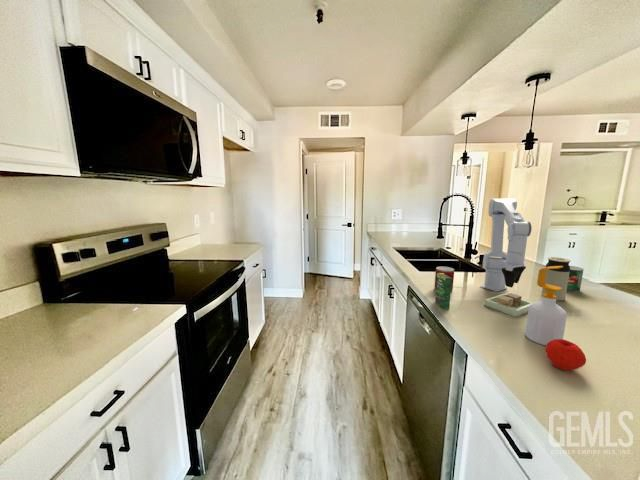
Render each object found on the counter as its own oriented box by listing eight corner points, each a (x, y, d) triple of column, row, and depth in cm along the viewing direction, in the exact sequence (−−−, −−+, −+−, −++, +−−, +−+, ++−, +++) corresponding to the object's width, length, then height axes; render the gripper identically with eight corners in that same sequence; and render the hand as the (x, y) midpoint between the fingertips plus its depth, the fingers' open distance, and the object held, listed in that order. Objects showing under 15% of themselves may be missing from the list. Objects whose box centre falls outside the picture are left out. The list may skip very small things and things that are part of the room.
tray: (502, 299, 116) (503, 293, 115) (534, 309, 105) (535, 303, 105) (484, 305, 109) (484, 299, 109) (516, 317, 99) (517, 310, 98)
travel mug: (545, 299, 115) (551, 260, 112) (538, 293, 123) (544, 256, 120) (568, 302, 112) (575, 261, 109) (559, 295, 120) (566, 257, 117)
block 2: (509, 301, 111) (510, 293, 111) (520, 305, 108) (521, 296, 107) (504, 303, 110) (505, 294, 109) (515, 307, 106) (516, 298, 105)
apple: (592, 376, 67) (597, 350, 65) (563, 378, 66) (568, 351, 65) (561, 357, 74) (565, 333, 73) (535, 358, 74) (539, 334, 73)
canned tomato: (577, 288, 129) (581, 267, 127) (582, 293, 123) (586, 270, 121) (556, 285, 133) (559, 264, 131) (559, 290, 127) (563, 268, 125)
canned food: (455, 293, 123) (457, 270, 121) (438, 293, 123) (440, 270, 121) (447, 287, 131) (449, 266, 129) (431, 287, 131) (433, 266, 129)
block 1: (500, 304, 109) (501, 295, 108) (511, 307, 106) (512, 298, 105) (496, 306, 107) (497, 297, 106) (507, 310, 103) (509, 300, 103)
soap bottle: (553, 350, 78) (566, 271, 74) (519, 336, 86) (529, 263, 81) (567, 342, 82) (580, 267, 78) (533, 329, 90) (543, 260, 86)
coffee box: (434, 301, 114) (436, 272, 112) (440, 301, 114) (443, 272, 112) (442, 309, 106) (445, 278, 104) (449, 309, 106) (452, 278, 104)
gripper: (509, 247, 111) (505, 278, 113) (498, 252, 102) (494, 285, 104) (530, 250, 106) (525, 282, 108) (520, 255, 96) (515, 290, 99)
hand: (511, 284), depth 106 cm, fingers open, 7 cm apart
